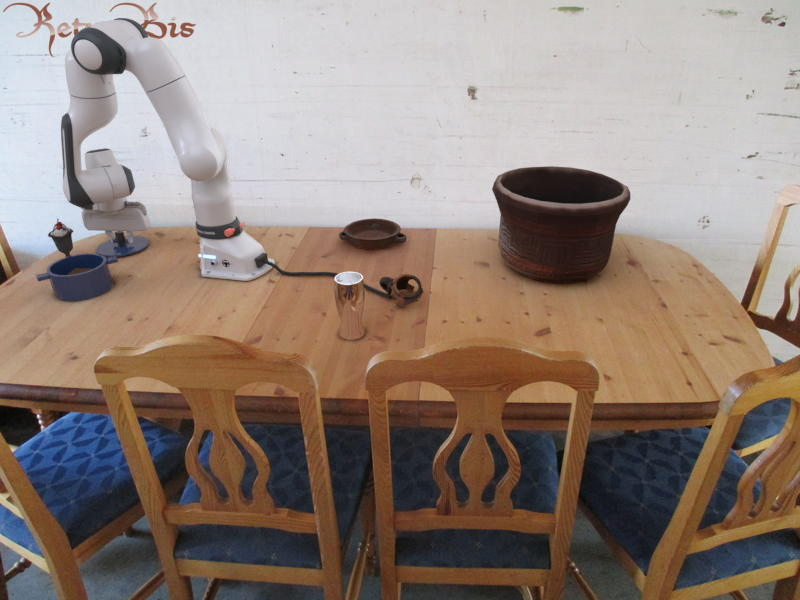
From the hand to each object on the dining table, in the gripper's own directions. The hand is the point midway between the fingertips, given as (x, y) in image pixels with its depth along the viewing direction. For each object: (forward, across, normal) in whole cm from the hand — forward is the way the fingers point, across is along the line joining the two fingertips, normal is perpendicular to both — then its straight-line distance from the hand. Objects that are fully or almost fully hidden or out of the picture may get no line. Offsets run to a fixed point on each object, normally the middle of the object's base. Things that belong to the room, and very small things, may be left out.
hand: (122, 242), depth 183 cm
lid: (+1, 0, 0) cm, 1 cm away
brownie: (+1, -3, +28) cm, 28 cm away
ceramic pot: (+2, -134, +6) cm, 134 cm away
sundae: (+2, +11, +12) cm, 16 cm away
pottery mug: (+2, -92, +29) cm, 96 cm away
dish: (+2, -80, -8) cm, 80 cm away
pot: (+2, -3, +28) cm, 28 cm away
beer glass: (+2, -81, +46) cm, 93 cm away
